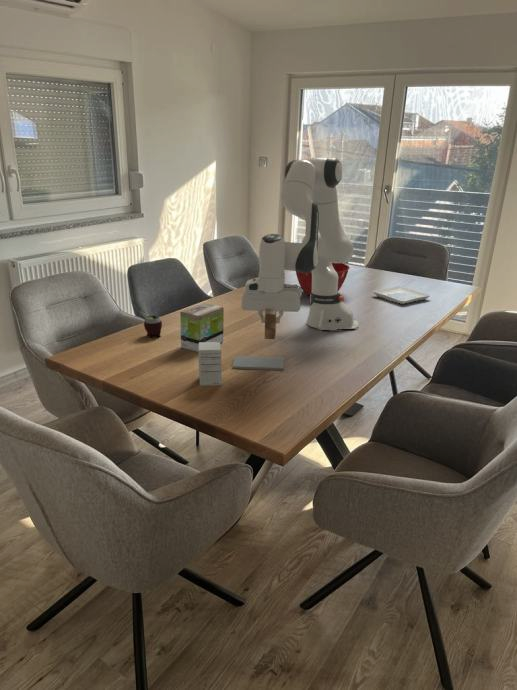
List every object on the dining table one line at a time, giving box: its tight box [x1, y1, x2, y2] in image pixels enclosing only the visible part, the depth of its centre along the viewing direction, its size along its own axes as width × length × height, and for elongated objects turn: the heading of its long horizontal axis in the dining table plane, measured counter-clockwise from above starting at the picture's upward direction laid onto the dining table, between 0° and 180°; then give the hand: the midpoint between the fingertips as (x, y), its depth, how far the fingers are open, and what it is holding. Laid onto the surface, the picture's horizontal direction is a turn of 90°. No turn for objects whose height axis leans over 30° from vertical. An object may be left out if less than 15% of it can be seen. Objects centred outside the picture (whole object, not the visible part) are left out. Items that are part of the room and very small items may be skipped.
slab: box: [264, 309, 277, 340], centre depth 184 cm, size 4×8×10 cm, turn 176°
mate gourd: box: [143, 298, 166, 339], centre depth 213 cm, size 8×8×15 cm
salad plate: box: [371, 285, 431, 305], centre depth 271 cm, size 21×21×3 cm
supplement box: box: [197, 342, 223, 387], centre depth 174 cm, size 7×7×13 cm
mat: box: [231, 355, 285, 371], centre depth 190 cm, size 18×10×1 cm, turn 86°
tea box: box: [179, 302, 225, 353], centre depth 204 cm, size 15×10×15 cm, turn 148°
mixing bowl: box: [295, 263, 351, 296], centre depth 274 cm, size 28×28×16 cm
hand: (270, 322), depth 184 cm, fingers closed on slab, 3 cm apart
